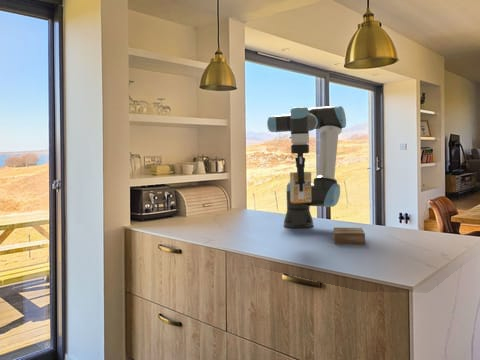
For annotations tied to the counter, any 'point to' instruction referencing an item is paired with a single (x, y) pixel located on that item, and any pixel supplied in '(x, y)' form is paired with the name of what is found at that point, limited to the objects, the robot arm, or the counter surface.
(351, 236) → the block
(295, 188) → the supplement box
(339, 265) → the counter surface
